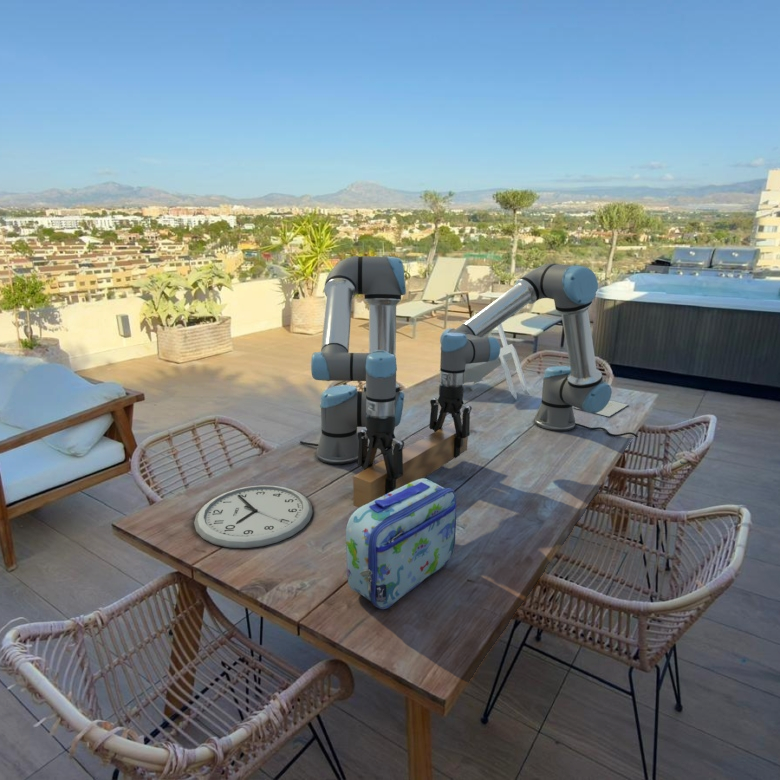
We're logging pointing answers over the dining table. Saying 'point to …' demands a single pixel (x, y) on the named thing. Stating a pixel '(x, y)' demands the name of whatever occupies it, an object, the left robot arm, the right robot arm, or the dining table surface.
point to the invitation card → (611, 408)
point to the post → (408, 465)
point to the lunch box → (400, 540)
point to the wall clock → (253, 516)
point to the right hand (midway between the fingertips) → (447, 453)
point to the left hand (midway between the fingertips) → (379, 495)
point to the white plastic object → (480, 370)
